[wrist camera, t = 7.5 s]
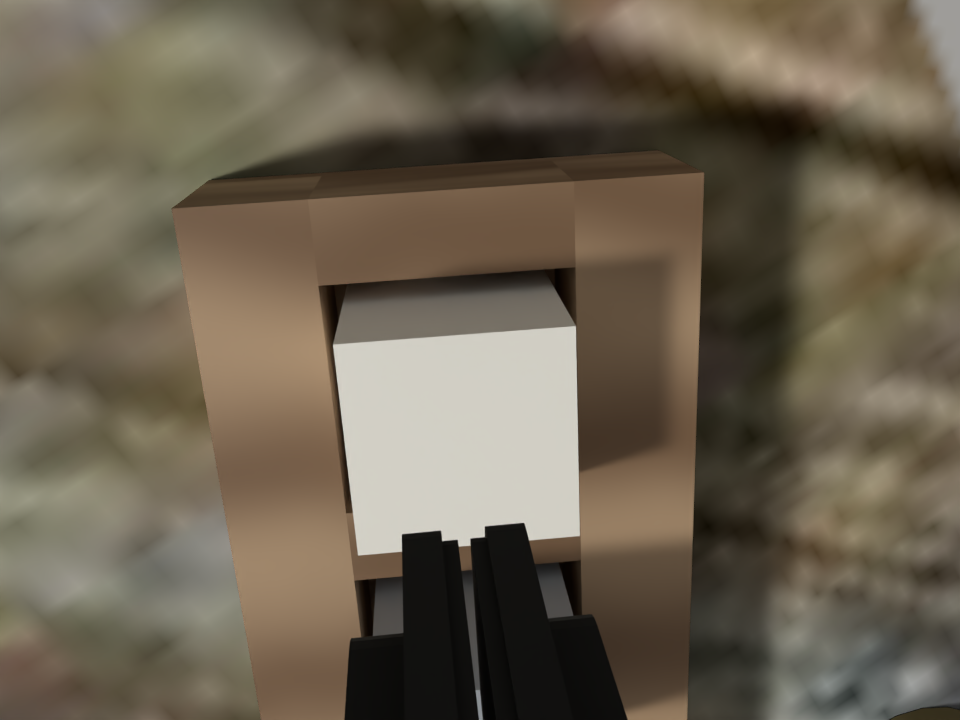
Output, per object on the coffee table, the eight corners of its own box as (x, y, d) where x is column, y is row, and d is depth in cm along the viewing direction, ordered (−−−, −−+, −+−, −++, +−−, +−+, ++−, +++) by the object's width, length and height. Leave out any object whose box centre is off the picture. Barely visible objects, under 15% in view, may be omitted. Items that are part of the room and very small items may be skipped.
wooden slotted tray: (209, 180, 24) (172, 208, 20) (658, 150, 24) (704, 172, 21) (323, 899, 33) (312, 1011, 29) (648, 864, 33) (679, 969, 30)
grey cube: (376, 577, 25) (368, 700, 20) (558, 561, 25) (591, 679, 20) (392, 723, 26) (389, 867, 22) (562, 707, 27) (593, 845, 22)
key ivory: (347, 282, 23) (333, 344, 18) (543, 268, 23) (575, 326, 19) (367, 459, 25) (358, 555, 20) (548, 444, 25) (579, 536, 20)
